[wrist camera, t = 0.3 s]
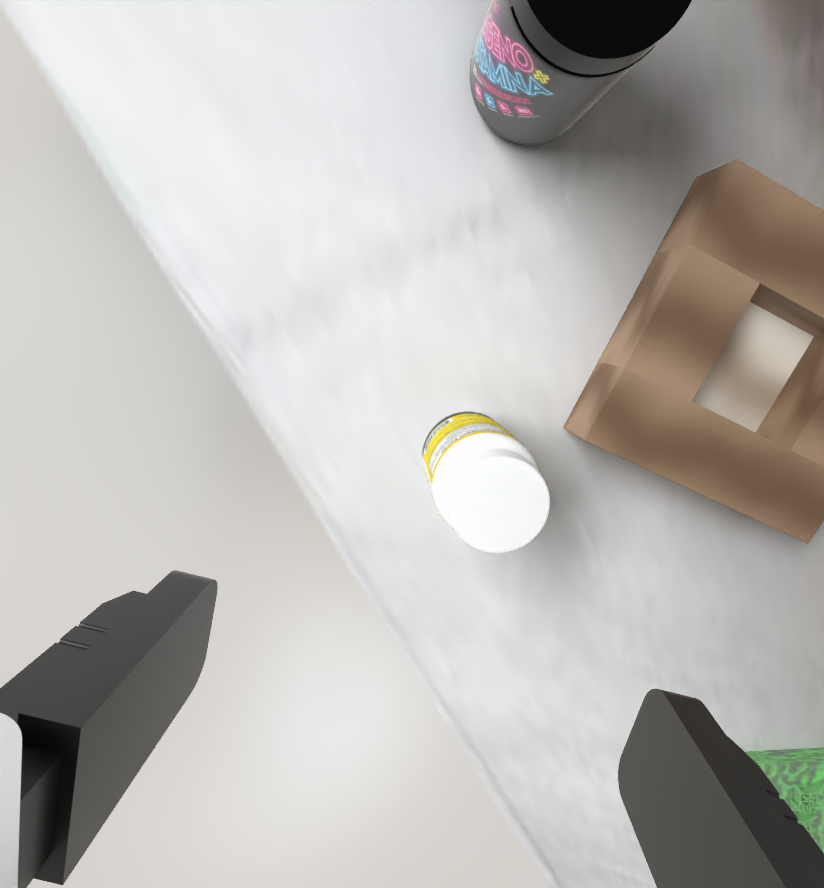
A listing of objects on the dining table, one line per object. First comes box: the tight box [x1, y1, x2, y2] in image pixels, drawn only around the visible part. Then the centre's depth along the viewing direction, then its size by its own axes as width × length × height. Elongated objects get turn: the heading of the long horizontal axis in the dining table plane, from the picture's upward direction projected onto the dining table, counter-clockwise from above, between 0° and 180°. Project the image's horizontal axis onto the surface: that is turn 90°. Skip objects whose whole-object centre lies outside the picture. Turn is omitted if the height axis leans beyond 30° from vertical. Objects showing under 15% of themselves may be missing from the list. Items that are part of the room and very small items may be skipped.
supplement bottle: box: [422, 411, 550, 553], centre depth 28 cm, size 6×6×10 cm
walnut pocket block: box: [563, 159, 824, 544], centre depth 31 cm, size 16×16×4 cm
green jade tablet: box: [745, 748, 824, 853], centre depth 41 cm, size 11×12×2 cm
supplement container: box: [470, 0, 692, 145], centre depth 23 cm, size 7×7×10 cm
